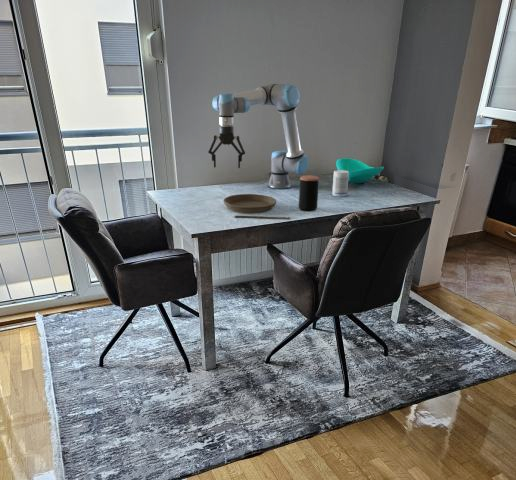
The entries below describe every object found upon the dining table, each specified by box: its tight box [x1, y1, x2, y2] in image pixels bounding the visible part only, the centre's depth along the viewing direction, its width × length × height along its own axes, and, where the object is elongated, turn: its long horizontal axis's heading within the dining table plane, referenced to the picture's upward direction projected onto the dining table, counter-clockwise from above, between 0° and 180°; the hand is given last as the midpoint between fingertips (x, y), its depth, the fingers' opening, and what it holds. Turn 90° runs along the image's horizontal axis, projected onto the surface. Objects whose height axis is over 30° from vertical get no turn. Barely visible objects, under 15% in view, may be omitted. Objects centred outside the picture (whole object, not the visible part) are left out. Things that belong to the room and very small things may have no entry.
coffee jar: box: [298, 174, 320, 213], centre depth 269 cm, size 11×11×18 cm
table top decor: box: [335, 157, 384, 184], centre depth 331 cm, size 40×28×13 cm
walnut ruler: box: [234, 215, 290, 220], centre depth 258 cm, size 30×2×1 cm, turn 84°
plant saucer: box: [223, 193, 277, 214], centre depth 275 cm, size 31×31×5 cm
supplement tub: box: [331, 169, 349, 198], centre depth 298 cm, size 10×10×15 cm
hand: (227, 167), depth 262 cm, fingers open, 13 cm apart
